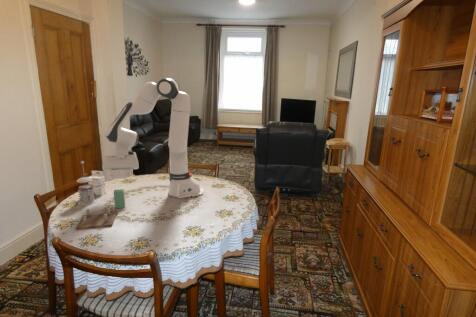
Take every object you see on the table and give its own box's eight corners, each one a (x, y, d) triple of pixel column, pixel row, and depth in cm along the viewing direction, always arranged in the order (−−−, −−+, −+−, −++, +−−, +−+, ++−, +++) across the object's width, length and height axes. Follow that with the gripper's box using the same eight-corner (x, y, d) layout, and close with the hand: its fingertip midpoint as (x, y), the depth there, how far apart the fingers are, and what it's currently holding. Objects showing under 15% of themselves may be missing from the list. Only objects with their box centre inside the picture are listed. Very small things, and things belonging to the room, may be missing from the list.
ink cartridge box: (89, 195, 179) (86, 172, 175) (93, 192, 184) (91, 170, 180) (102, 196, 178) (99, 173, 174) (106, 193, 183) (104, 170, 179)
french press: (93, 197, 175) (88, 158, 169) (100, 203, 168) (95, 162, 161) (75, 201, 169) (70, 160, 162) (81, 208, 161) (76, 165, 154)
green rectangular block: (125, 205, 166) (123, 189, 163) (124, 207, 163) (123, 191, 160) (115, 206, 164) (114, 189, 162) (115, 208, 162) (113, 191, 159)
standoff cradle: (116, 213, 155) (115, 205, 154) (112, 226, 142) (111, 216, 141) (83, 216, 151) (82, 207, 150) (76, 229, 138) (74, 220, 137)
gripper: (102, 153, 172) (100, 174, 165) (138, 152, 177) (137, 172, 170) (104, 158, 177) (102, 179, 170) (139, 157, 182) (139, 177, 175)
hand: (120, 175), depth 170 cm, fingers open, 8 cm apart
